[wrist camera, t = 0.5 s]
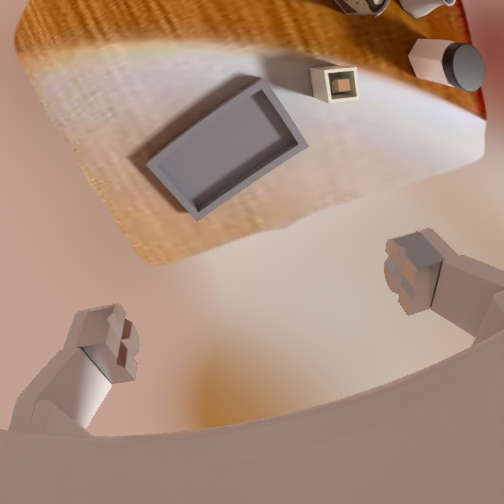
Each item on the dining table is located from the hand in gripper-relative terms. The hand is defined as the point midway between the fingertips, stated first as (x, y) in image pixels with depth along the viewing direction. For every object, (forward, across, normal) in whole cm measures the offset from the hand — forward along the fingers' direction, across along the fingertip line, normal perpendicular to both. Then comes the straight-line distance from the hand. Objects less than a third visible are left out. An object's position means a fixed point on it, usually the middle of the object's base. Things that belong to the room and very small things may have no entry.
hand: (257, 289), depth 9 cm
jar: (+44, -39, -3) cm, 59 cm away
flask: (+44, -38, -15) cm, 60 cm away
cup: (+44, -18, 0) cm, 47 cm away
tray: (+44, 0, +8) cm, 44 cm away
